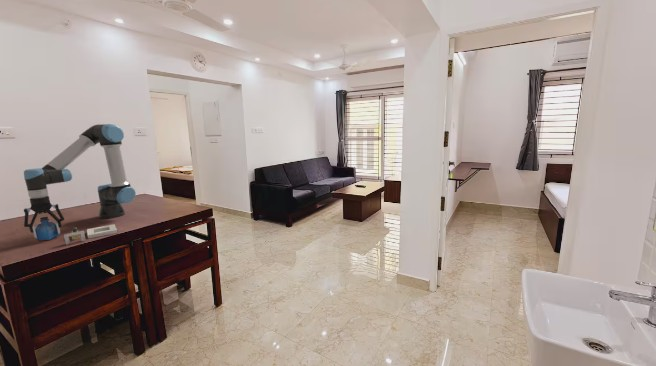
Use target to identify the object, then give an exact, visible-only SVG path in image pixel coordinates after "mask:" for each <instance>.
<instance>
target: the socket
mask: <svg viewBox="0 0 656 366" xmlns="http://www.w3.org/2000/svg"><path fill="white" fill-rule="evenodd" d="M86 233H87V235H86V236H87V239H93V238H99V237H104V236H109V235H114V234H118V229H117V227H116V224H115V223H114V224H108V225H103V226H99V227H93V228H86Z"/></svg>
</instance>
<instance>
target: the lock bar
mask: <svg viewBox="0 0 656 366" xmlns="http://www.w3.org/2000/svg"><path fill="white" fill-rule="evenodd" d="M71 229H72V231H71V233H74V232H80V231H79V229H78V228H77V227H75V226H74V227H72V228H71ZM79 239H80V234H78V235H73V236H71V240H73V241H74V240H79Z"/></svg>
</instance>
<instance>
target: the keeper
mask: <svg viewBox="0 0 656 366" xmlns="http://www.w3.org/2000/svg"><path fill="white" fill-rule="evenodd" d="M78 234H79V235H80V239H81V242H86V234H85V230H80V231H79V232H74V233H72V232H70V233H65V234H63V237H64V242H65V246H66V245H70V243H71V242H70V237H72V236H73V235H78Z"/></svg>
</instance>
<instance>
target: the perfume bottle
mask: <svg viewBox="0 0 656 366" xmlns="http://www.w3.org/2000/svg"><path fill="white" fill-rule="evenodd" d="M39 219H40V221H39V222H40V223H39V224H37V226H35V228H36V229H35V231H36V235H37V238H36V239H37V240H38V241H44V240H47V241H49V240H53V239H54V238H57V237H58V236H59V235H60V234H58V231H57V226H56V223H54V222H53V221H50V219H49V217H48V216H42V217H39Z"/></svg>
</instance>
